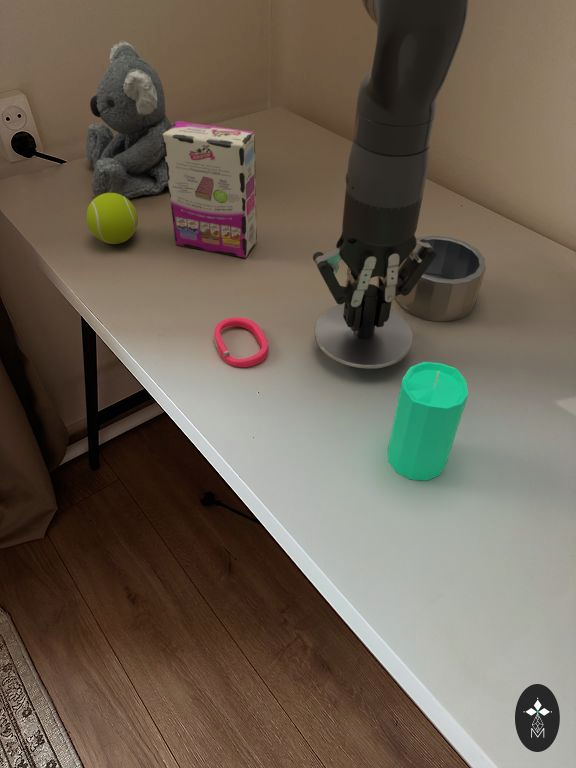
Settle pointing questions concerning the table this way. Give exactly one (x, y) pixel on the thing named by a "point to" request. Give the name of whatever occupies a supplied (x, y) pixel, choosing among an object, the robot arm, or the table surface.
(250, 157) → the candy bar box
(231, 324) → the fitness band
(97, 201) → the tennis ball
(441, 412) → the candle
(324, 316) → the tin lid
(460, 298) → the tin
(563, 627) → the table surface
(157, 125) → the koala plush
